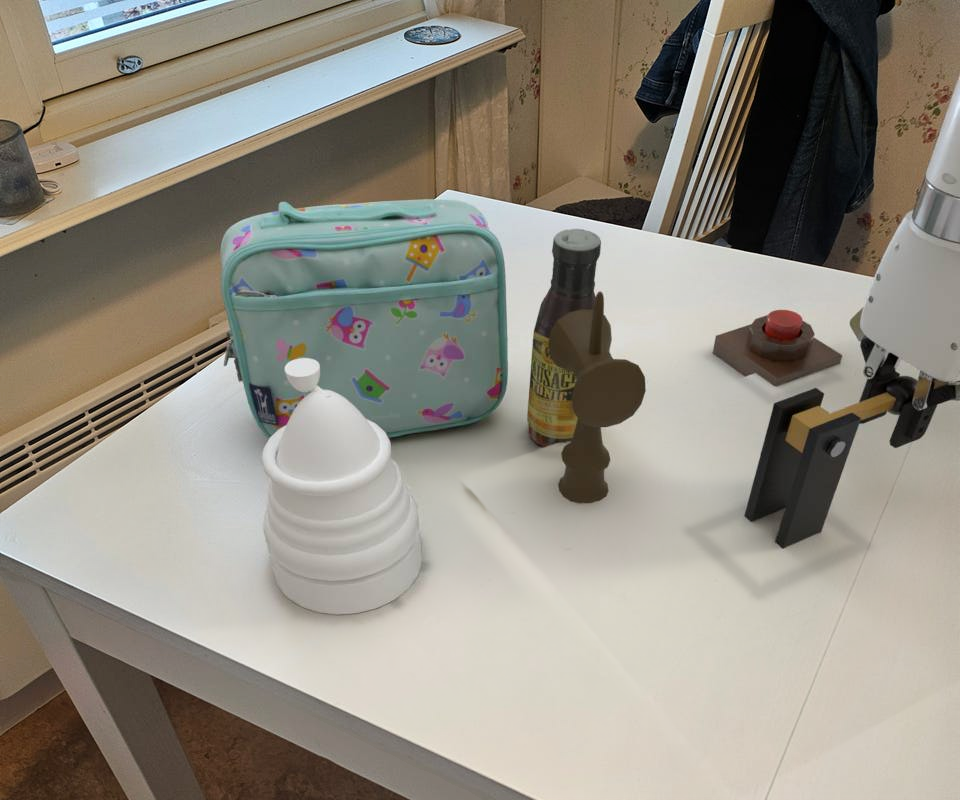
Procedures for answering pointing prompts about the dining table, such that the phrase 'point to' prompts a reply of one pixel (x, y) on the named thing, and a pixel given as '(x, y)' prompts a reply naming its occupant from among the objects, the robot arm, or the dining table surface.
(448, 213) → the lunch box
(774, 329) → the light button
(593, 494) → the kendama
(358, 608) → the honey pot
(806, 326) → the button block
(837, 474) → the switch bracket
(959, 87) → the robot arm
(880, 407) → the switch lever
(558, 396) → the sauce bottle
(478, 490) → the dining table surface
